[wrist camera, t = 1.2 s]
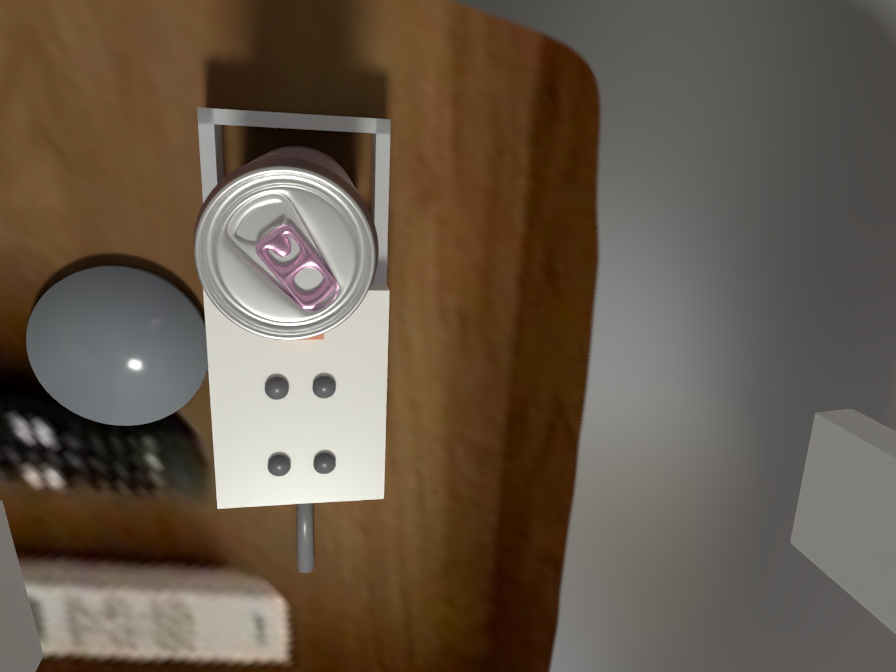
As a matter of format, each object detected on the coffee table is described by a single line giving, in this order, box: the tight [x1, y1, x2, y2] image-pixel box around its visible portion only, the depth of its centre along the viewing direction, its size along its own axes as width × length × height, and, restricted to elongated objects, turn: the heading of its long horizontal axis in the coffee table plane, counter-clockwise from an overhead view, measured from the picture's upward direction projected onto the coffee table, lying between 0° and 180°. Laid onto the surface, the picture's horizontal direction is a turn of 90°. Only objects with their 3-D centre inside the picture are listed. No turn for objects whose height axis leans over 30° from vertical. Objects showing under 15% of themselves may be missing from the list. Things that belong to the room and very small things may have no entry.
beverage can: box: [194, 146, 379, 340], centre depth 27 cm, size 6×6×15 cm
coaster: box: [26, 265, 208, 426], centre depth 34 cm, size 9×9×1 cm
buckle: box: [197, 108, 391, 573], centre depth 34 cm, size 28×9×5 cm, turn 177°
